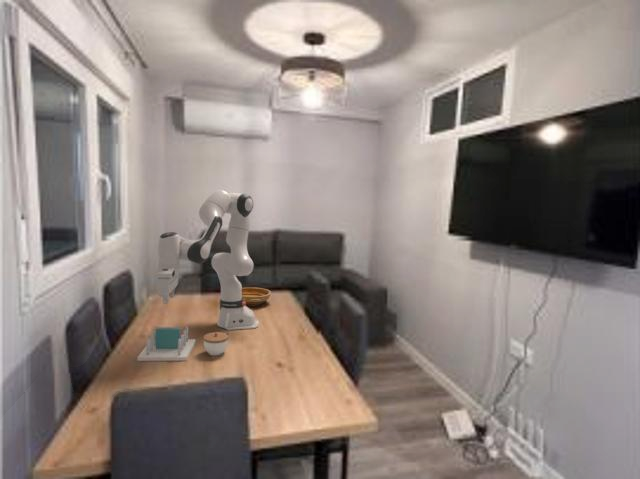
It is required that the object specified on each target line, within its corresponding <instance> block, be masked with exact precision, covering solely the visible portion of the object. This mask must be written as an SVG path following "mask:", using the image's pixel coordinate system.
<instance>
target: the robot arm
mask: <svg viewBox="0 0 640 479" xmlns="http://www.w3.org/2000/svg"><path fill="white" fill-rule="evenodd" d="M253 208H254V201H253V198H252V196H250V195H248V194H246V193H240V192H239V193H238V192H227V191H225V190H222V189H217V190H215V191H214V192H213V193H211V194H210V196H208V198H207V199H206V200H205V201H204V203H202V205H201V206H200V207H199V211H198V216H199V218H200V221H202V223H204V225H206V226H207V227H206V229H205V231H204V232H203V235H202V237H201V238H199V239H196V240H195V239H189V238H186V237H183V236H181V235H180V234H179V233H178V232H175V231H174V232H173V231H170V232H164V233H162V234H161V235H159V238H158V243H157V256H158V261H157V269H156V273H155V277H156V278H157V280H156V281H157V282H156V283H157V294H158V296H160V297H162V301H163V302H162V303H163V305H167V304H169V299H173V298H174V296H175V288H176V287H177V286H178V284H179V276H178V275H180V272H181V271H180V265H181V264H180V262H181V261H180V260H182V261H187V262H191V263H194V264H199V265H200V264H203V263H204V262H206V261H207V260H208V259H209V257H210V255H211V251H212V249H213V246H214V244H215V241H216V240H217V238H218V235H219V233H220V232H221V229H222V226H223V217H224V216H225V214H230V219H229V222H228V227H227V232H226V238H225V241H226V244H227V245H228V246H229V248H230V252H229V253H228V252H218V253H215V254H214V255H213V257H212V258H211V267H212V269H214V271H215V272H216V274H217V277H218V280H219V283H220V299H219V316H218V320H217V323H216V326H218V327H219V328H223V329H225V330H228V331H234V330H250V329H251V330H252V329H257V328H258V327H259V325H260V321H259V319H257V318H256V316H255V312H254V311H253V310H252V309H251V308H249V306H246V305H245V304H246V302H245V299H244V300H243V299H242V288H243V286H242V283H241V282H240V280H239V279H238V278H237V276H238V277H246V276H247V277H248V276H249V275H250V274H251V273H252V272H253V270H254V261H253V260H252V258H251V257H250V255H249V254H250V253H249V252H248V239H249V233H250V232H249V231H250V225H251V223H250V222H251V217H250V216H251V215H250V214H251V213H252V211H253Z"/></svg>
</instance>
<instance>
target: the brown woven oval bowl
mask: <svg viewBox="0 0 640 479" xmlns="http://www.w3.org/2000/svg"><path fill="white" fill-rule="evenodd" d="M271 294H272V291H271V290H269V289H268V288H263V287H242V299H243V300H244V299H245V302H246V304H245V306H246V307H257V306H261V304H262V303H265V302H267V301H268V300H269V298H270V296H271Z"/></svg>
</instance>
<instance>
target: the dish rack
mask: <svg viewBox="0 0 640 479" xmlns="http://www.w3.org/2000/svg"><path fill="white" fill-rule="evenodd" d="M157 327H160V326H156V327H155V329H154V330H152V331H153V333H152V334H151V333H150V334H149V338H146V341H145V342H146V343H145V345H146V346H144V348H143V349H142V351H141V352H140V353H139V355H137V357H136V361H137V362H139V361H140V362H143V361H144V362H146V361H148V362H149V361H150V362H151V361H153V362H155V361H156V362H157V361H158V362H159V361H160V362H161V361H163V362H164V361H167V362H168V361H169V362H170V361H171V362H173V361H175V362H176V361H178V362H179V361H181V362H182V361H184V362H185V361H188V359H189V358H190V357H189V356H190V354H191V352H192V350H193V348H194V347H195V344H196V338H195V339H192V338H191V339H189V326H185V330H183V331H182V333H181V339H178V349H156V328H157Z"/></svg>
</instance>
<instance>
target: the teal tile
mask: <svg viewBox="0 0 640 479" xmlns="http://www.w3.org/2000/svg"><path fill="white" fill-rule="evenodd" d="M156 327H157V326H156ZM156 327H155V330H156V349H178V339H181V335H182V333H181V331H182V330H181V327H168V326H167V327H166V326H165V327H160V326H159V327H157V328H156Z"/></svg>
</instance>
